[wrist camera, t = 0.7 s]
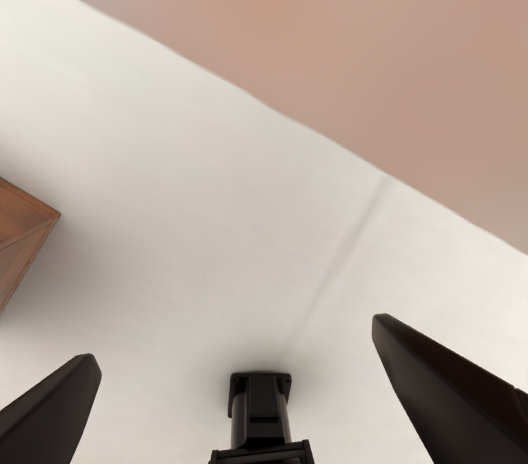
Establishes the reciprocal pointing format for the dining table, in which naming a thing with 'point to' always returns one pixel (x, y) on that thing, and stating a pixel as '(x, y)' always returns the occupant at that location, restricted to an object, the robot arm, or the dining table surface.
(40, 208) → the bin
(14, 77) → the dining table surface
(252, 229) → the dining table surface
